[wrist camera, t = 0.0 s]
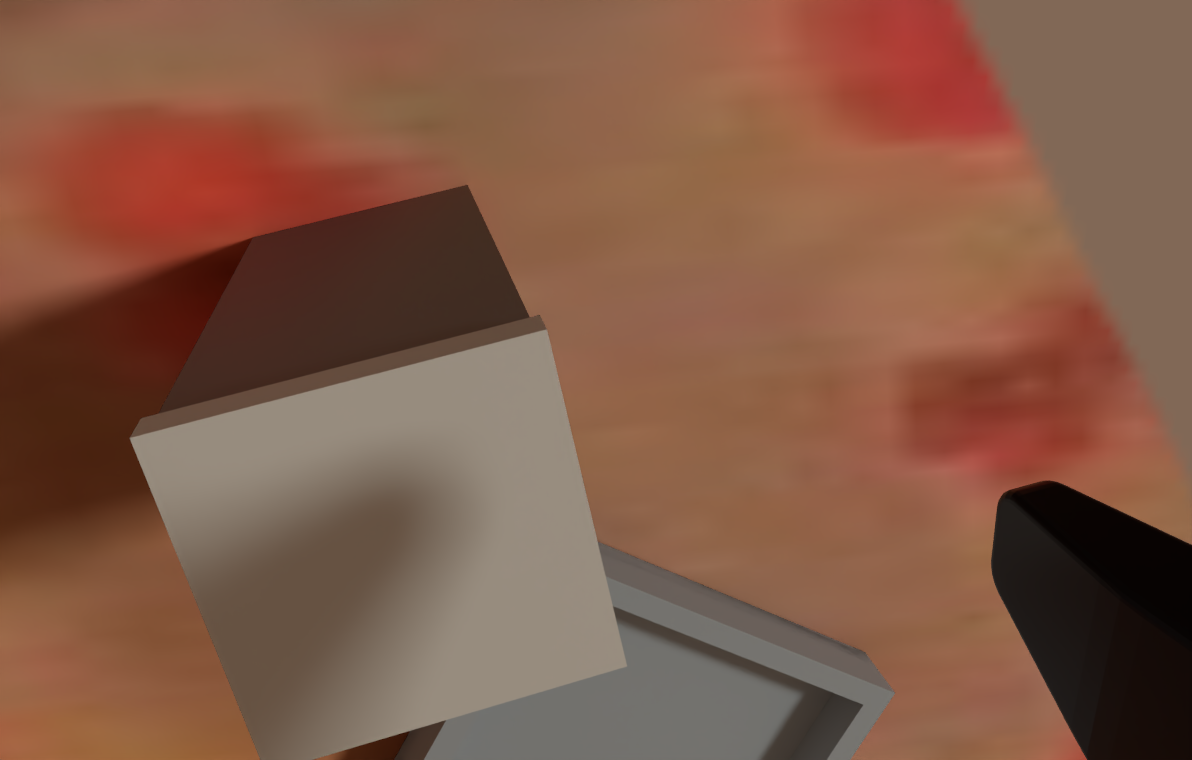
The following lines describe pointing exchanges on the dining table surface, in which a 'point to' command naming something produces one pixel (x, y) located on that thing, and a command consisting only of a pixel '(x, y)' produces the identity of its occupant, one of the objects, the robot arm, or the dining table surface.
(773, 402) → the dining table surface
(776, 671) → the tray
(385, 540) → the grey tall block
